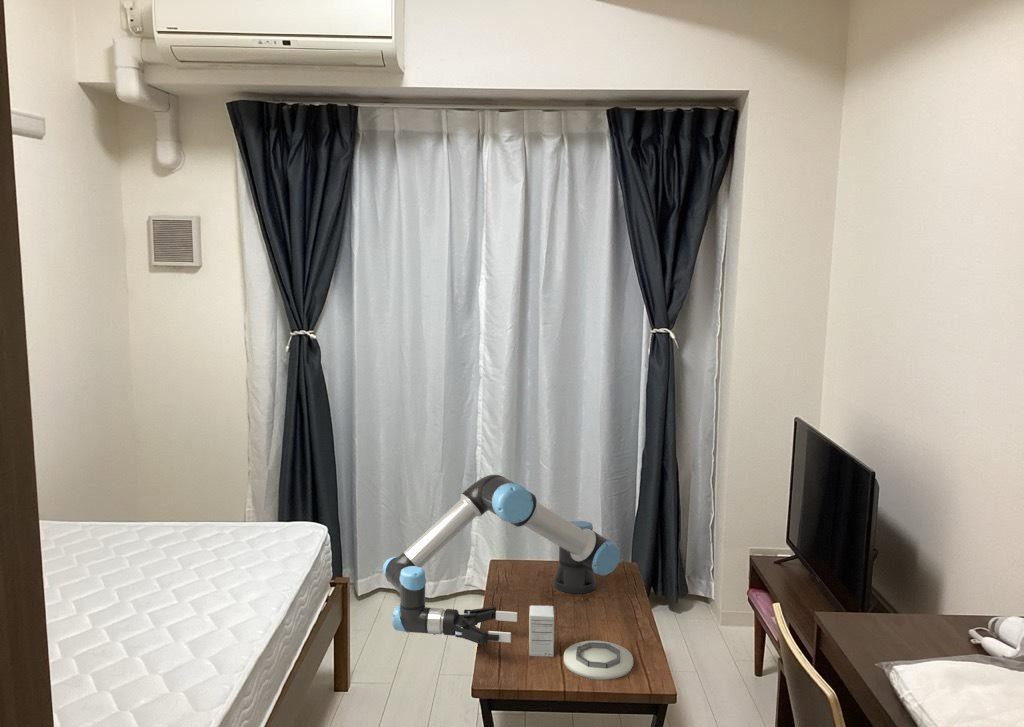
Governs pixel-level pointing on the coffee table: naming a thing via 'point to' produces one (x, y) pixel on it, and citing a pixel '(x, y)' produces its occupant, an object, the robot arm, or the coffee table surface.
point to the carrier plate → (598, 656)
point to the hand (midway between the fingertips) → (514, 627)
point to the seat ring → (598, 664)
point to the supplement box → (541, 631)
